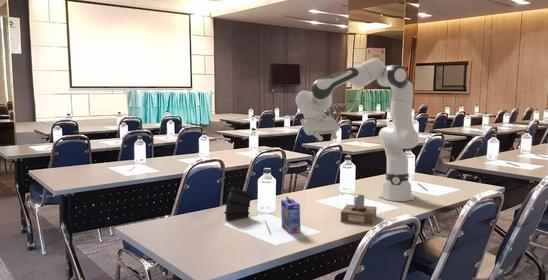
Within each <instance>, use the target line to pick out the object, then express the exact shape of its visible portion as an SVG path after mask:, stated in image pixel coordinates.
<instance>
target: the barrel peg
mask: <svg viewBox="0 0 548 280" xmlns="http://www.w3.org/2000/svg"><path fill="white" fill-rule="evenodd" d="M353 200H354V204H353V205H354V211H361V212H364V206H365V195H364V194H354V199H353Z"/></svg>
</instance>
